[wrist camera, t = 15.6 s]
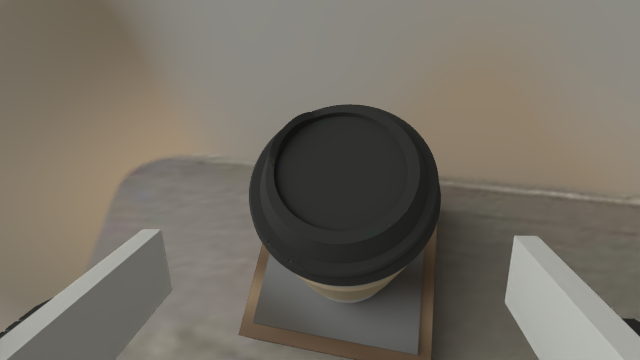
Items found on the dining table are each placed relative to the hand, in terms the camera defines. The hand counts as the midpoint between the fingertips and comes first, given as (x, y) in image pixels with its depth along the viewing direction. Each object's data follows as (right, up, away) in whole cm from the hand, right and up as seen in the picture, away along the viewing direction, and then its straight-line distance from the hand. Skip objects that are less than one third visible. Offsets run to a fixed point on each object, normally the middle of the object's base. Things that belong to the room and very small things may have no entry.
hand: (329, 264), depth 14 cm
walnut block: (+2, -5, +19) cm, 20 cm away
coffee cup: (+2, -3, +15) cm, 15 cm away
